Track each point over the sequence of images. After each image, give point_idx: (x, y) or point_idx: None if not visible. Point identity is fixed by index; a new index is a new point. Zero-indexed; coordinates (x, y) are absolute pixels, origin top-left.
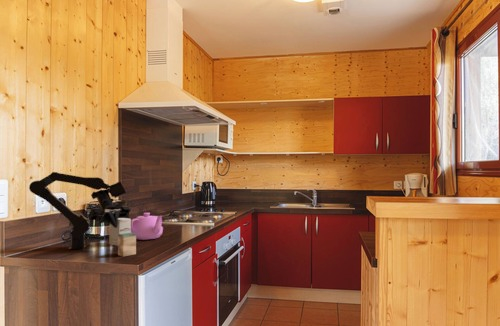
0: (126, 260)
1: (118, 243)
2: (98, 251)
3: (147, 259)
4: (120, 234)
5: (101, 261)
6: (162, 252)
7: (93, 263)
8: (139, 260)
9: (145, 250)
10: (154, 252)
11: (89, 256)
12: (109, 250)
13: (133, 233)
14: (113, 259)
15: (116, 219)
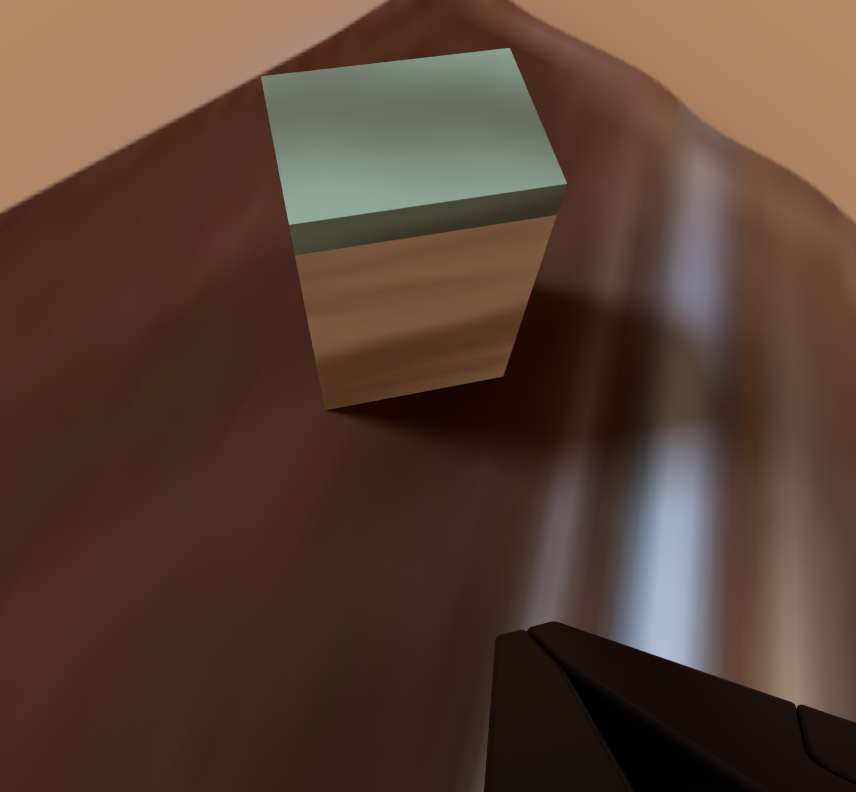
0: None
1: (528, 285)
2: None
3: (309, 56)
4: (538, 136)
5: (715, 200)
6: (10, 208)
7: (790, 173)
8: None
9: (98, 418)
10: (81, 255)
11: (846, 488)
12: None
13: (296, 106)
14: (595, 209)
15: (571, 753)
